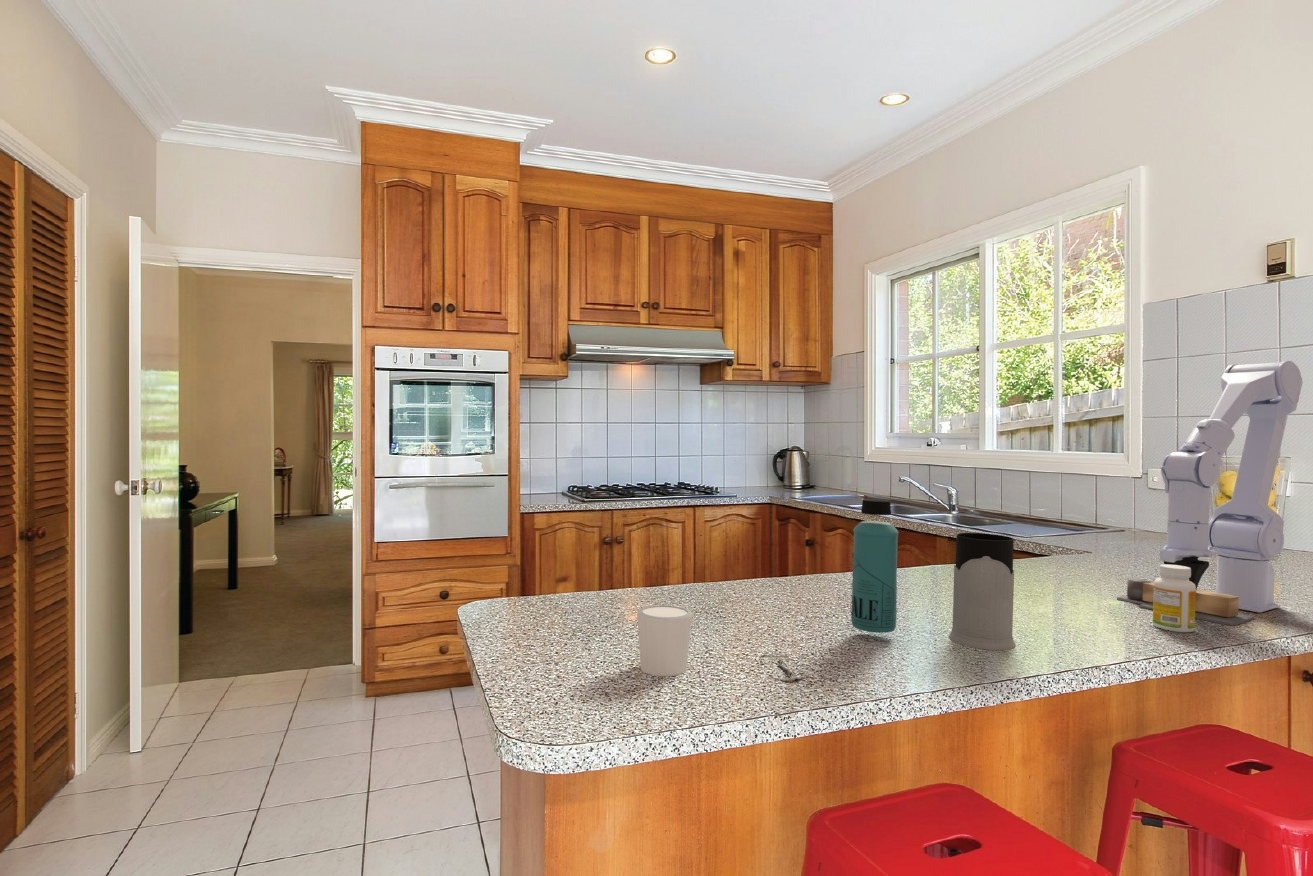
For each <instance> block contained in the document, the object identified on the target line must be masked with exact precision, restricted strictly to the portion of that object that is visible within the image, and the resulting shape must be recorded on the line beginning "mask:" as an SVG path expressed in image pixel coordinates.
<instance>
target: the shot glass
mask: <svg viewBox="0 0 1313 876" xmlns="http://www.w3.org/2000/svg"><path fill="white" fill-rule="evenodd" d="M693 615H694V612H693V611H691V610H690V609H688V608H685V607H680V606H676V605H651V606H646V607H645V606H644V607H642V608H638V610H637V612H636V616H637V617H636V618H637V631H638V633H637V634H638V645H639V649H638V650H639V662H640V670H641V671H642V672H643V673H646V674H647V675H652V676H657V677H658V676H659V677H672V676H679V675H682V674H684V673H686V671H687V667H688V660H689V659H688V658H689V650H690V641H691V631H692V623H693Z"/></svg>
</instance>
